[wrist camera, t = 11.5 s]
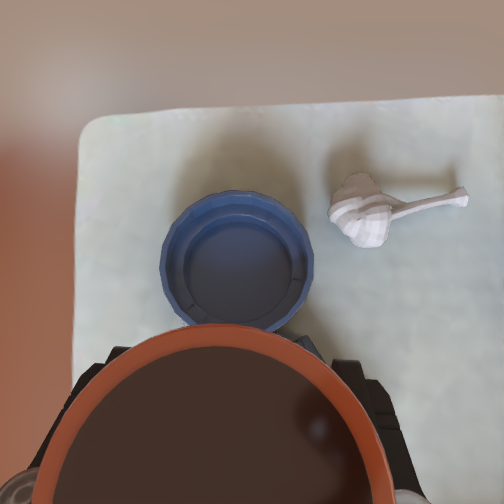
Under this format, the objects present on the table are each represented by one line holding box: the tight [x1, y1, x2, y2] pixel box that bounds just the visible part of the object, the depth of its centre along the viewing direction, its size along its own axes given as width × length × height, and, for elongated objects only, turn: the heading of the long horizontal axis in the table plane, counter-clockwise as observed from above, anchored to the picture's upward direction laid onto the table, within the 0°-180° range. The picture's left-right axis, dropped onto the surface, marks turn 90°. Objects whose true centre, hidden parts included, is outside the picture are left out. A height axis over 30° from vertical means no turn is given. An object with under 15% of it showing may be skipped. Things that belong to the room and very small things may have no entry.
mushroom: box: [328, 172, 469, 248], centre depth 30 cm, size 7×5×12 cm
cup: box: [31, 323, 397, 504], centre depth 10 cm, size 6×6×10 cm
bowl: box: [159, 190, 314, 333], centre depth 29 cm, size 11×11×4 cm
